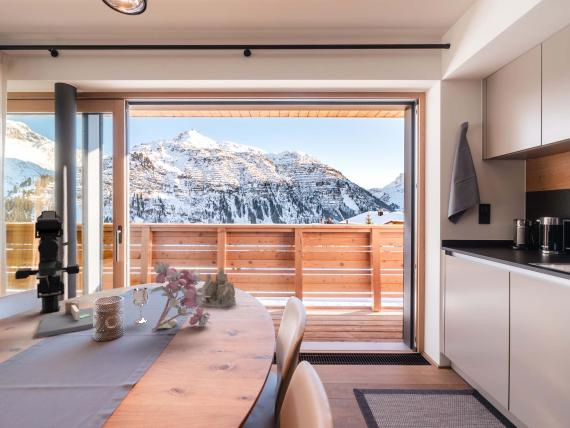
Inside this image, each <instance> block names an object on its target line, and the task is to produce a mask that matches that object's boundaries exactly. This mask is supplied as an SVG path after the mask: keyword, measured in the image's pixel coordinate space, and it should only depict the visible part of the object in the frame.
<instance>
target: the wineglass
mask: <svg viewBox="0 0 570 428" xmlns="http://www.w3.org/2000/svg"><path fill="white" fill-rule="evenodd" d="M149 294H150V292H149V291H148V288H147V287H136V288H134V289H133V290H132V295H131V301H132V304H133V305H134V306H135V307H139V309H138V310H139V318H138V319H136V320H134V323H135V324H143V323H146V322H147V321H148V319H147V318H143V317H142V315H143V314H142V311H143V306H145V305H147V304H148V302H149V300H150V295H149Z"/></svg>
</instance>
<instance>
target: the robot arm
mask: <svg viewBox="0 0 570 428" xmlns="http://www.w3.org/2000/svg"><path fill="white" fill-rule="evenodd" d="M34 223H35V224H34V230H35V231H34V239H39V240H38V246H37V252H38V255H39V256H38V261H39V262H38V264H37V268H38V269H32V267H29V268H28V267H27V268H25V267H24V268H18V270H16V271H15V275H14V278H15V280H24V279H28V278H29V277H30V276H35V279H36V281H37V280H38V283H36V296H37V297H36V299H41V309H40V311H39V314H49V313H56V312H60V310H61V305H60V298H59V297H60V296H63V295H65V283H64V282H63V280H61V278H62V273H66V274H68V275H77V274H80V264H78V263H75V264H67V265H66V267H63V266H64V265H63V260H60V259H59V239H58V238H62V236H64V224H63V223H62V218H61V216H60V215H59V214H57V211H55V210H42V211H41V214H40V215H39V216H38V217H37V218H36V221H35V222H34Z"/></svg>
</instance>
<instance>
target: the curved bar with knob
mask: <svg viewBox="0 0 570 428" xmlns="http://www.w3.org/2000/svg"><path fill="white" fill-rule="evenodd" d="M64 305H65V306H64V308H65V311H64V312H65V314H72V315H73V317H74V318H75V320H79V319H80V311H79V310H80V302H79V300H70V301H66V302H65V304H64Z"/></svg>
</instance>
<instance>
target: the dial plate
mask: <svg viewBox="0 0 570 428" xmlns="http://www.w3.org/2000/svg"><path fill="white" fill-rule="evenodd" d="M79 311H80V319H79V320H75V318H74V317H73V315H72V314H65V311H61V312H60V311H59V312H52V313H45V314H44V315H43V317H42V320H41V322H40V325H39V326H38V329H37V332H36V338H43V337H44V338H45V337H50V336H54V335H55V336H56V335H59V334H66V333H71V332H77V331H82V330H88V329H89V330H90V329H93V316H94V307H89V308H88V307H87V308H82V309H80V308H79Z"/></svg>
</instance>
